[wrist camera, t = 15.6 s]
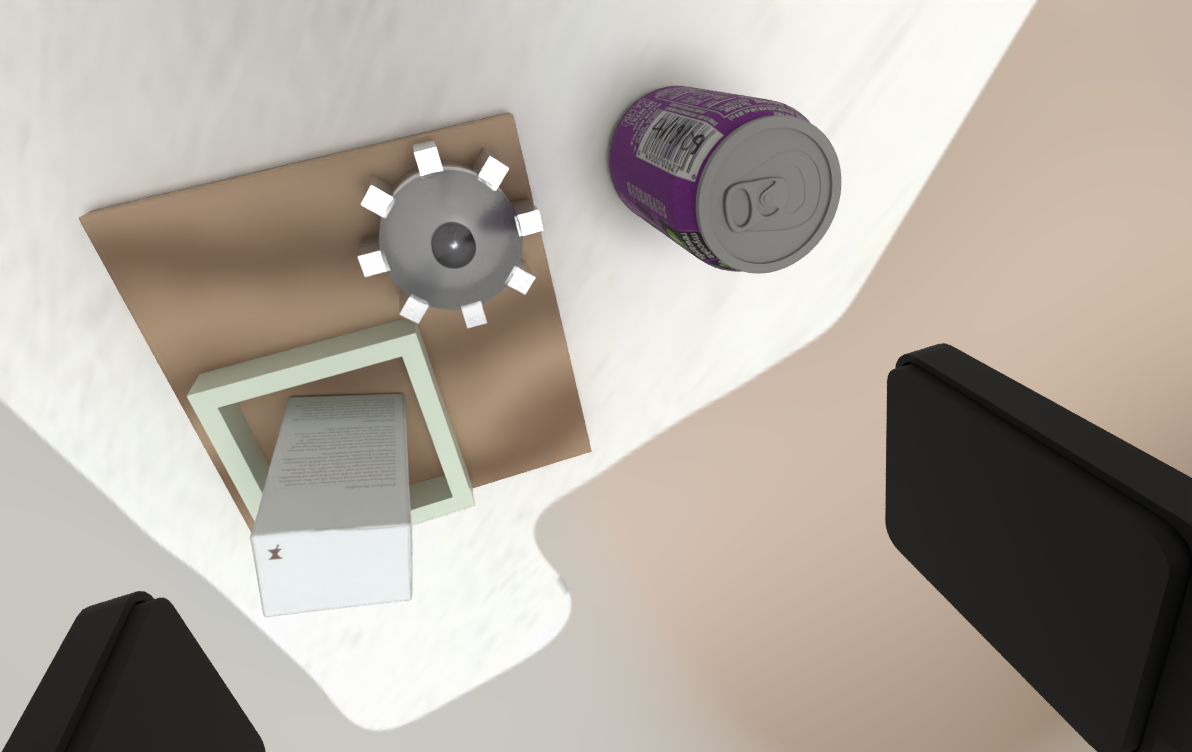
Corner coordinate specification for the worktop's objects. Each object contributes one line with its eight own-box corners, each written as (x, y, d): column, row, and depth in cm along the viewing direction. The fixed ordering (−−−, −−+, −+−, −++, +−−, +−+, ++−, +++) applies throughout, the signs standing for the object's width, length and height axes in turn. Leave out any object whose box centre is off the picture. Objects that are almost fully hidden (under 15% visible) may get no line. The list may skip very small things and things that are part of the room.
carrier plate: (91, 211, 32) (78, 218, 31) (508, 112, 35) (512, 115, 34) (267, 537, 42) (262, 553, 40) (585, 439, 44) (591, 451, 43)
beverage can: (622, 236, 39) (703, 306, 29) (591, 106, 36) (672, 133, 25) (737, 199, 40) (857, 254, 30) (718, 68, 37) (846, 79, 26)
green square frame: (199, 374, 35) (186, 396, 33) (414, 315, 37) (415, 332, 34) (285, 538, 40) (279, 567, 38) (471, 481, 42) (475, 505, 40)
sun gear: (332, 162, 33) (325, 176, 29) (510, 120, 34) (522, 129, 30) (391, 327, 37) (391, 355, 33) (548, 284, 38) (563, 307, 34)
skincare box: (295, 463, 38) (257, 621, 28) (288, 394, 37) (245, 534, 26) (409, 457, 40) (413, 604, 30) (407, 391, 38) (411, 521, 28)
